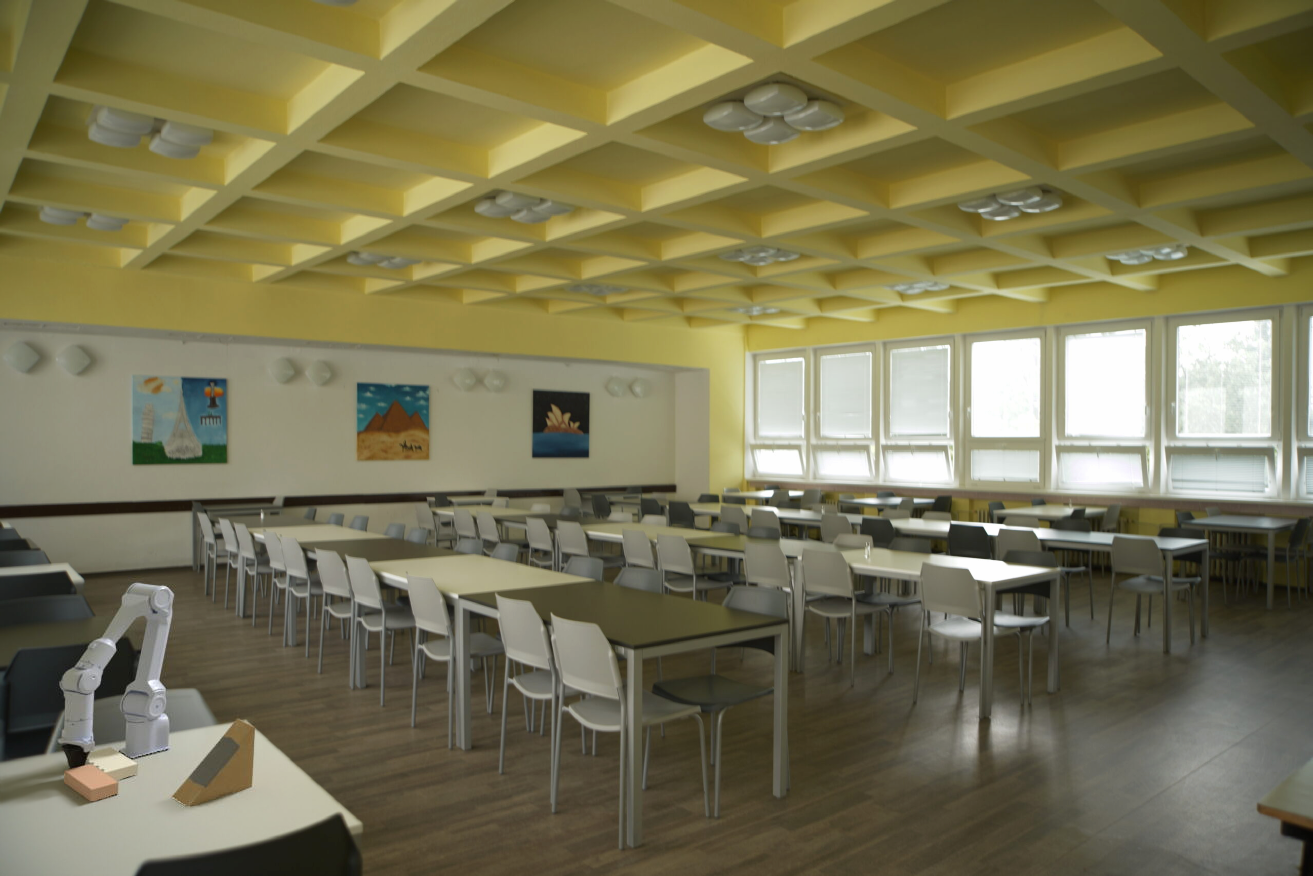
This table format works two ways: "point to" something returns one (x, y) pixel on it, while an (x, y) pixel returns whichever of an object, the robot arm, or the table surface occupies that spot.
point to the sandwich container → (222, 767)
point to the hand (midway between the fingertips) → (76, 773)
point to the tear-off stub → (91, 782)
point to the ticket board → (112, 763)
